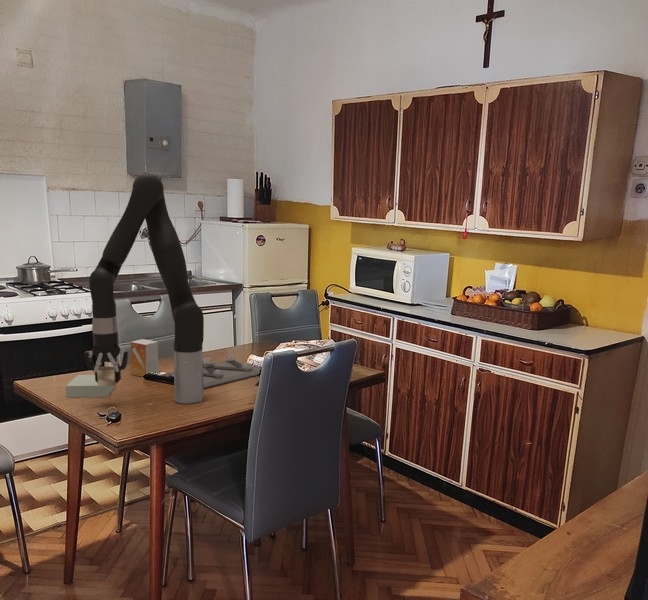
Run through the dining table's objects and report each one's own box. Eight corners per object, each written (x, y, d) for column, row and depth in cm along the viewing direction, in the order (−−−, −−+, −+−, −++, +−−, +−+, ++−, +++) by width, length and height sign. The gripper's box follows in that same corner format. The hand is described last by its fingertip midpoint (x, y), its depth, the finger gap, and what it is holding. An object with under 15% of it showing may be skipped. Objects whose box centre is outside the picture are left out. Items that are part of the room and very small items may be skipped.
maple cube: (118, 381, 189) (117, 366, 188) (114, 385, 184) (113, 370, 183) (102, 381, 188) (101, 366, 187) (98, 386, 183) (97, 371, 182)
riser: (116, 385, 208) (115, 374, 207) (106, 397, 195) (106, 385, 194) (78, 385, 206) (77, 374, 206) (66, 397, 193) (65, 385, 193)
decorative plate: (202, 391, 205) (202, 372, 204) (168, 378, 219) (168, 360, 218) (266, 375, 227) (266, 357, 226) (231, 364, 241) (231, 347, 240)
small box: (131, 374, 221) (130, 341, 219) (143, 371, 226) (142, 338, 224) (146, 378, 217) (145, 344, 215) (158, 374, 223) (158, 341, 221)
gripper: (131, 327, 188) (133, 378, 190) (85, 328, 186) (88, 379, 189) (126, 332, 180) (128, 385, 183) (78, 333, 179) (81, 386, 181)
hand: (108, 382), depth 186 cm, fingers closed on maple cube, 5 cm apart
